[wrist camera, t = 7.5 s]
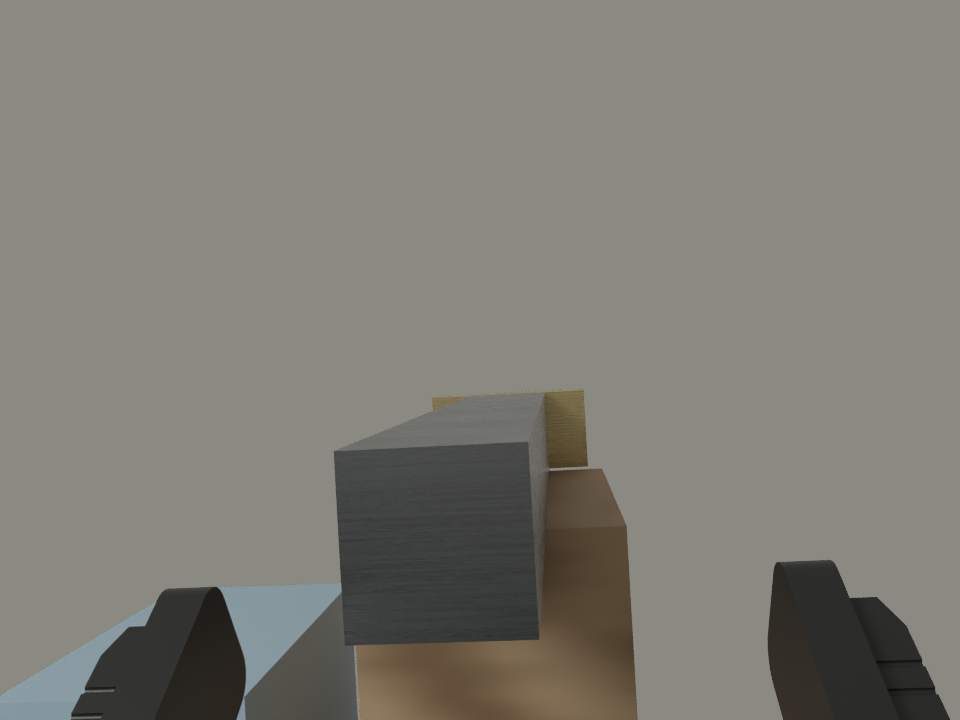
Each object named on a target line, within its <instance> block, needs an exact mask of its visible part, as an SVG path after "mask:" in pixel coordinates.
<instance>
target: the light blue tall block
mask: <svg viewBox="0 0 960 720" xmlns="http://www.w3.org/2000/svg"><path fill="white" fill-rule="evenodd" d="M219 589H220V590H221V592H222V594H223V596H224V599H225V602H226V605H227V607H228V610H229V613H230V616H231V619H232V622H233V625H234V628H235V631H236V634H237V637H238V640H239V643H240V646H241V649H242V652H243V655H244V659H245V665H246V685H245V692H244V697H243V701H242V704H241V707H240V710H239V714H238V717H237V720H358V715H357V697H356V679H355V662H354V645H352V646H345V643H344V625H343V607H342V589H341V583H334V584H306V585H279V586H253V587H224V588H219ZM155 604H156V602H155V603H153V604H152V605H150V606H148V607H147V608H145V609H143V610H142V611H140V612H138V613H137V614H135V615H133V616H132V617H130V618H128V619H127V620H125V621H123V622H122V623H120V624H118V625H117V626H115V627H113V628H112V629H110V630H108V631H107V632H105V633H103V634H102V635H100V636H98V637H97V638H95V639H93V640H92V641H90V642H88V643H87V644H85V645H83V646H82V647H80V648H78V649H77V650H75V651H73V652H72V653H70V654H68V655H67V656H65V657H64V658H62V659H60V660H59V661H57V662H55V663H54V664H52V665H50V666H49V667H47V668H45V669H44V670H42V671H40V672H39V673H37V674H35V675H34V676H32V677H30V678H29V679H27V680H25V681H24V682H22V683H20V684H19V685H17V686H15V687H14V688H12V689H10V690H9V691H7V692H5V693H4V694H2V695H0V720H71V713H72V711H73V709H74V707H75V705H76V703H77V701H78V699H79V697H80V695H81V694H84V692H85V688H84V687H85V685H86V684H87V682H88V680H89V678H90V676H91V674H92V672H93V670H94V668H95V666H96V664H97V662H98V660H99V658H100V656H101V655H102V654H103V653H104V652H105V651H106V650H107V649H108V648H109V647H110V646H111V644H112V643H113V642H114V641H115V640H116V639H117V638H118V637H119V636H120V635H121V634H122V633H123V632H124V631H125V630H126V629H127V628H128V627H133V626H145V625H146V623H147V621H148V619H149V616H150V614H151V612H152V610H153V608H154V606H155Z"/></svg>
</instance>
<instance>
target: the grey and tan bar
mask: <svg viewBox="0 0 960 720" xmlns="http://www.w3.org/2000/svg"><path fill="white" fill-rule="evenodd" d="M583 392H584V391H583V389H570V390H552V391H533V392H515V393H496V394H478V395H477V394H476V395H458V396H439V397H435V398H432V400H433V411H432V412H430V413H427V414H424V415H422V416H419V417H417V418H415V419H412V420H410V421H407V422H405V423H402V424H400V425H397V426H395V427H392V428H390V429H387V430H385V431H383V432H380V433H378V434H375V435H373V436H370V437H368V438H365V439H363V440H360V441H358V442H355V443H353V444H350V445H348V446H346V447H343V448H340V449H338V450H336V451H334V462H335V481H336V497H337V517H338V535H339V551H340V552H339V553H340V569H341V570H340V571H341V589H342V607H343V625H344V643H345V646H352V645H385V644H418V643H450V642H483V641H516V640H539V639H540V622H541V605H542V588H543V571H544V554H545V537H546V520H547V503H548V486H549V469H550V468H561V467H580V466H581V467H582V466H588V461H587V445H586V426H585V410H584V393H583Z"/></svg>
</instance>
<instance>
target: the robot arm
mask: <svg viewBox="0 0 960 720" xmlns="http://www.w3.org/2000/svg"><path fill="white" fill-rule="evenodd" d="M768 654H769V655H768V656H769V664H770V671H771V676H772V680H773V684H774V688H775V692H776V695H777V698H778V702H779V706H780V709H781V713H782V716H783V720H950V718H949V716H948V714H947V712H946V710H945V708H944V706H943V703H942V701H941V699H940V697H939V695H936V692H935V686H934V684H933V682H932V680H931V678H930V676H929V673H928V671H927V669H926V667H925V666H923V664H922V658H921V656H920V654H919V652H918V650H917V648H916V646H915V644H914V641H913V639H912V637H911V635H910V633H909V631H908V628H907V626H906V625H905V624H904V623H903V622H902V621H901V620H900V619H899V618H898V617H897V616H896V615H895V614H894V613H893V612H892V611H891V610H889V609H888V608H887V607H886V606H885V605H884V604H883V603H882V602H881V601H880V600H879V599H878V598H877V597H868V598H849V596H848V593H847V591H846V588H845V586H844V583H843V581H842V578H841V576H840V574H839V571H838V569H837V567H836V565H835V563H834V562H833V561H831V560H819V561H795V562H777V563H776V564H775V567H774V574H773V585H772V596H771V607H770V618H769V629H768ZM245 685H246V665H245V659H244V655H243V652H242V649H241V646H240V643H239V640H238V637H237V634H236V631H235V628H234V625H233V622H232V619H231V616H230V613H229V610H228V607H227V605H226V602H225V599H224V596H223V594H222V592H221V590H220V589H219V588H217V587H201V588H176V589H166V590H164V591H163V592H162V593H161V595H160V596H159V598H158V600H157V602H156V604H155V606H154V608H153V610H152V612H151V614H150V616H149V619H148V621H147V623H146V625H145V626H133V627H128V628H127V629H126V630H125V631H124V632H123V633H122V634H121V635H120V636H119V637H118V638H117V639H116V640H115V641H114V642H113V643H112V644H111V646H110V647H109V648H108V649H107V650H106V651H105V652H104V653H103V654H102V655H101V656H100V658H99V660H98V662H97V664H96V666H95V668H94V670H93V672H92V674H91V676H90V678H89V680H88V682H87V684H86V685H85V687H84V688H85V692H84V694H81V695H80V697H79V699H78V701H77V703H76V705H75V707H74V709H73V711H72V713H71V720H237V717H238V714H239V710H240V707H241V704H242V701H243V697H244V692H245Z"/></svg>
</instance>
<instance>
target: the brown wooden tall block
mask: <svg viewBox="0 0 960 720" xmlns="http://www.w3.org/2000/svg"><path fill="white" fill-rule="evenodd" d="M632 634H633V632H632V615H631V598H630V580H629V563H628V545H627V528H626V524H625V522H624V519H623V517H622V515H621V512H620V510H619V508H618V505H617V503H616V500H615V498H614V496H613V494H612V491H611V489H610V486H609V484H608V482H607V480H606V477H605V475H604V473H603V470H602V469H585V470H563V471H549V486H548V503H547V520H546V537H545V554H544V571H543V588H542V605H541V622H540V639H539V640H516V641H483V642H450V643H418V644H385V645H356V654H357V672H358V690H359V708H360V720H637V703H636V685H635V667H634V650H633V635H632Z"/></svg>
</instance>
